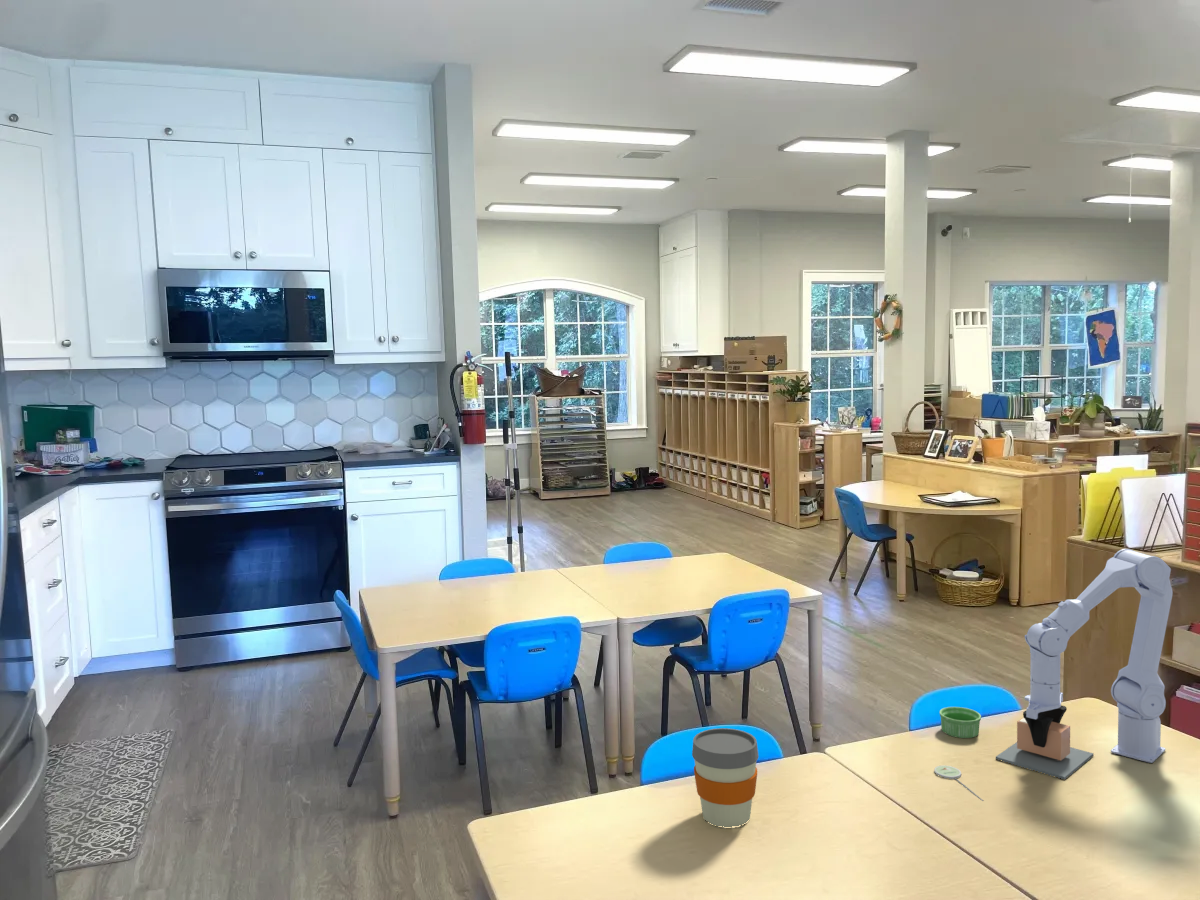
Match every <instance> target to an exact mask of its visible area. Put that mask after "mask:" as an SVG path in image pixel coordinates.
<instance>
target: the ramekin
mask: <svg viewBox="0 0 1200 900" xmlns="http://www.w3.org/2000/svg"><path fill="white" fill-rule="evenodd" d="M939 717H940V723H941V724H940V726H941V731H942V732H943V733H944V734H946V735H947V736H950V737H953V738H958V739H971V738H975V737H977V736H978V735H979V732H980V725H981V724H980V723H981V719H982V715H981V714H980V713H979V712H978V711H976V710H974V709H971V708H968V707H962V706H961V707H960V706H947V707H943V708H941V709H940V710H939Z"/></svg>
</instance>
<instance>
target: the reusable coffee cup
mask: <svg viewBox="0 0 1200 900" xmlns="http://www.w3.org/2000/svg"><path fill="white" fill-rule="evenodd" d="M692 739H693V740H692V751H691V754H692V755H691V756H692V758H693V761H694V766H693V773H694V780H695V787H696V793H697V795H698V796H699V799H700V805H701V812H702V818H703V817H704V818H703V820H704V819H705V820H706V821H708V822H709V823H711V824H713V825H716V826H722V827H723V826H724V827H732V826H739V825H742V824H744V823H746V822H747V821H748V820H749V819H750V820H751V813H752V812H751V811H752V804H753V798H754V797H755V794H756V787H757V777H758V768H757V761H758V759H759V748H758V742H757V739H756V737H755V736H754V735H753V734H751V733H749V732H746V731H744V730H740V729H737V728H736V729H735V728H727V727H726V728H723V727H721V728H719V727H718V728H710V729H707V730H703V731H700V732H699V733H697V734H696V735H695V736H694V737H693V738H692ZM705 820H704V821H705ZM750 820H749V821H750ZM706 821H705V822H706Z"/></svg>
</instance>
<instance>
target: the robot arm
mask: <svg viewBox="0 0 1200 900" xmlns="http://www.w3.org/2000/svg"><path fill="white" fill-rule="evenodd" d="M1171 571H1172V569H1171V567H1170V566H1169V565H1168V564H1167V563H1166V562H1165V561H1164V560H1163V559H1162V558H1161V557H1158V556H1155V555H1149V554H1146V553H1143V552H1139V551H1135V550H1133V549H1130V548H1122V549H1120V550H1118V551H1117V552H1115V553H1114V555H1113V557H1110V558H1108V559H1107V560H1106V563H1105V567H1104V569H1103V570H1102V571H1101V572H1100V573H1099V574H1098V575H1097V576H1096V577H1095V578H1094V579H1093V580H1092V581H1091V582H1090V584H1088V586H1087V587H1086V588H1085V589H1084V590H1083V591H1082V592H1081V593H1080V594H1079V595H1078V596H1077V598H1075V599H1065V600H1064V601H1062V600H1061V601H1060V602H1059V603H1058V604H1057V606H1058V607H1057V608H1055V610H1054V611H1052V612H1051V613H1050V614H1049V615H1048V616H1047V617H1044V618H1043V619H1042V622H1038V623H1034V624H1032V625H1031V626H1030V627H1029V628H1028V629H1027V633H1026V634H1024V640H1025V642H1026V644H1027V645H1028V647H1029V653H1030V671H1029V672H1030V674H1029V675H1030V677H1029V678H1030V687H1029V688H1030V689H1029V690H1030V691H1029V692H1030V693H1029V694H1028V695H1025V696H1024V701H1027V702H1028V706H1027V707H1026V709H1025V710H1024V711H1023V712H1022V715H1023V717H1024V718H1025V720H1026V722H1027V724H1028V726H1029V728H1030V732H1031V735H1032V739H1033V743H1034V745H1036V746H1039V747H1045V745H1046V742H1047V735H1048V730H1049V727H1050V724H1051V722H1056V723H1060V724H1061V721H1062V719H1063V717H1064V715H1065V713H1066V712H1067V708H1068V707H1067V706H1065V705H1062V703H1063V702H1064V693H1063V692H1061V654H1062V653H1064V652H1065V651H1066V650H1067V647H1068V642H1069V640H1070V637H1072V636H1073V635H1074V634H1075V633H1076V632H1077V631H1078V630H1079V629H1081V628H1082V627H1083V626H1084V625H1085V624H1086V623H1087V622H1088V621H1089V620H1090V611H1091V610H1092V609H1094V608H1095V607H1096V606H1098V604H1101V603H1102V601H1104V600H1105V599H1107V598H1108V597H1109V596H1110V595H1111V594H1113V593H1114V592H1115V591H1117V590H1118V589H1120V588H1135V590H1136V591H1137V592H1138V594H1140V600H1139V606H1138V610H1137V615H1136V620H1135V625H1134V626H1135V627H1134V632H1133V635H1132V642H1131V648H1130V652H1129V656H1128V662H1127V665H1126V666H1124V667H1122V668H1120V669H1118V673H1117V676H1116V678H1115V680H1114V681H1113V683H1112V685H1111V687H1110V694H1111V697H1112V698H1113V700H1114V701H1115V702H1116V704H1117V705H1116V707H1117V710H1118V711H1117V713H1118V714H1117V715H1118V716H1117V720H1118V721H1117V744H1116V745H1115V746H1114V747H1113V748H1111V750H1110V753H1112V754H1115V755H1119V756H1123V757H1127V758H1130V759H1133V760H1138V761H1141V762H1145V763H1149V764H1153V763H1154V762H1155V761H1156V760H1157V759H1158V758H1159V757H1160V756H1161V755H1162V754H1164V752H1165V751H1166V748H1165V747H1162V746H1161V733H1162V732H1161V731H1162V730H1161V728H1162V727H1161V726H1162V724H1161V723H1162V722H1161V718H1160V716H1161V715H1162V714H1163V713H1164V711H1165V709H1166V706H1167V701H1166V697H1165V688H1166V686H1165V684H1164V682H1163V681H1162V679H1161V677H1160V675H1159V674H1158V671H1159V667H1160V660H1161V655H1162V650H1163V646H1164V641H1165V637H1166V636H1165V635H1166V630H1167V626H1168V620H1169V615H1170V610H1171V605H1172V599H1173V595H1174V593H1173V592H1174V591H1173V587H1172V584H1171V580H1170V576H1171ZM1023 717H1022V718H1023Z"/></svg>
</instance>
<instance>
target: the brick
mask: <svg viewBox="0 0 1200 900" xmlns="http://www.w3.org/2000/svg"><path fill="white" fill-rule="evenodd" d="M1016 730H1017V731H1016V735H1017V736H1016V738H1017V739H1016V742H1017V748H1018V749H1021V750H1025V751H1029V752H1032V753H1036V754H1039V755H1043V756H1047V757H1050V758H1054V759H1057V760H1062V759H1064V758H1065V757H1066V756H1067V755H1069V754H1070V747H1071V725H1069V724H1063V723H1061V722H1060V723H1056V722H1051V724H1050V727H1049V730H1048V735H1047V742H1046V745H1045V747H1039V746H1036V745H1034V743H1033V739H1032V735H1031V732H1030V728H1029V726H1028V724H1027V722H1026V720H1025V718H1024V717H1022V718H1020V719H1019V720H1017V721H1016Z"/></svg>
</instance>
